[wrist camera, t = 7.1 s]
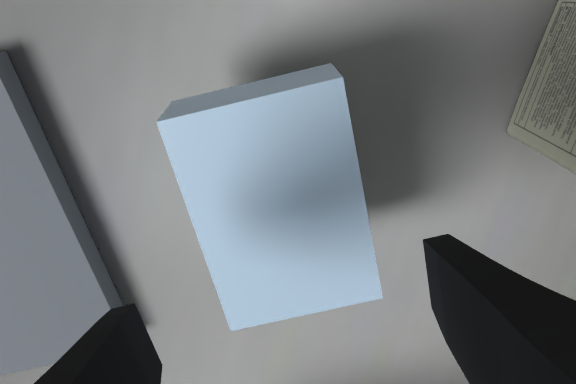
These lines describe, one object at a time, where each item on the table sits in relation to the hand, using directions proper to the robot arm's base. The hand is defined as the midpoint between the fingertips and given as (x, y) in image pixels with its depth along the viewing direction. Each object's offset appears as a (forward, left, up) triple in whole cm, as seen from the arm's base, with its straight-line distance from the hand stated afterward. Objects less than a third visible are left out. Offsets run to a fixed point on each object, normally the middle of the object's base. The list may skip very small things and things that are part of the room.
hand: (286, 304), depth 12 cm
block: (0, 0, -7) cm, 7 cm away
